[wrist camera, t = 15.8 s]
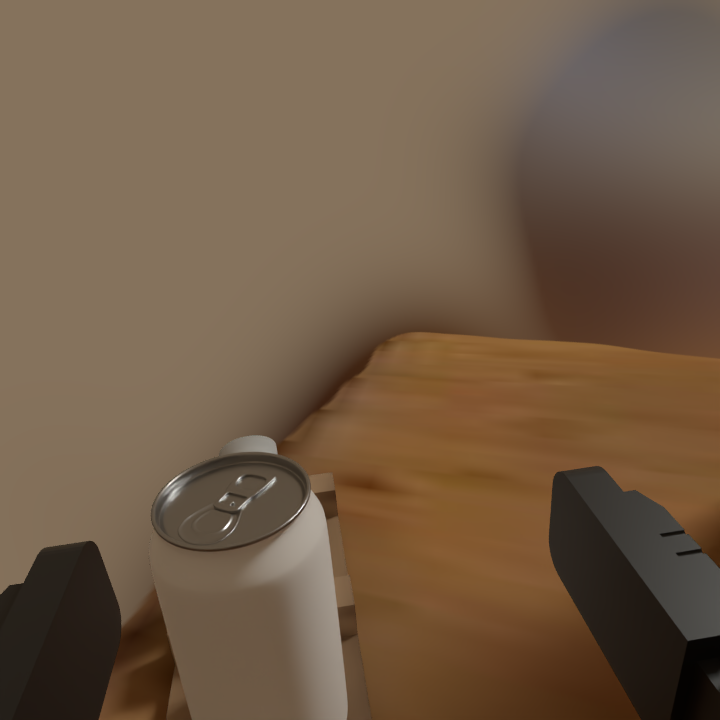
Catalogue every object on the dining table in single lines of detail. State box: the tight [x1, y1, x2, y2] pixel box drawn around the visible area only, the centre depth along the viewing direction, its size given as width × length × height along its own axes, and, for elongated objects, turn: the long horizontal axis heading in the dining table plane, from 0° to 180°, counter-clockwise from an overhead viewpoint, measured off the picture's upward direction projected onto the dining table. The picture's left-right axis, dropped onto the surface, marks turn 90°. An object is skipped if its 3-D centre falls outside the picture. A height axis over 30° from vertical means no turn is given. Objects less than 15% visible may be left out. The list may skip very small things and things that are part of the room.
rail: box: [166, 472, 372, 720], centre depth 30 cm, size 9×21×3 cm, turn 8°
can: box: [149, 452, 348, 720], centre depth 24 cm, size 6×6×12 cm
